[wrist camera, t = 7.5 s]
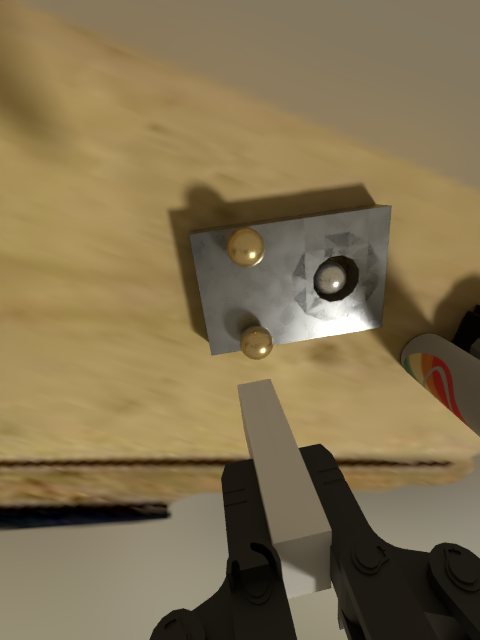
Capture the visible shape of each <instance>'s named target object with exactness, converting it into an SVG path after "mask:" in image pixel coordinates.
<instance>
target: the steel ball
mask: <svg viewBox="0 0 480 640" xmlns="http://www.w3.org/2000/svg"><path fill="white" fill-rule="evenodd" d="M345 282H346V272H345V270H344V268H343V267H342V266H341V265H340V264H339V263H337V262H334V261H326V262H323V263H322V264H320V265H319V267H318V269H317V271H316V273H315V275H314V276H313V284H314V286H315V288H316V289H317V290H318V291H320V292H322V293H325V294H333V293H336V292H338V291H339V290H340V289H341V288H342V287H343V286H344V284H345Z"/></svg>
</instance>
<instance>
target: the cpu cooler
mask: <svg viewBox="0 0 480 640" xmlns="http://www.w3.org/2000/svg"><path fill="white" fill-rule="evenodd" d="M465 319H466V320H465ZM462 321H463V322H462V323H461V324H460V326H459V328H460V327H461V329H459V330H458V331H457V332H459V333H456V335H455V336H456V337H455V339H454V340H453V341H454V342H452V343H453V344H454V345H456V346H457V347H459V348H461V349H462V350H464V351H465V352H467V353H469V354H470V355H472V356H474V357H475V358H477V359H478V360H480V305H476V308H475V310H474V312H469V313H468V314H467V315H466V316H465V317H464V319H463V320H462Z"/></svg>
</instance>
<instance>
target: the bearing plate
mask: <svg viewBox="0 0 480 640" xmlns="http://www.w3.org/2000/svg"><path fill="white" fill-rule="evenodd" d="M391 208H392V206H388V205H378V204H376V205H369V206H362V207H355V208H348V209H341V210H334V211H326V212H319V213H312V214H305V215H298V216H291V217H284V218H277V219H270V220H263V221H256V222H249V223H242V224H235V225H228V226H221V227H214V228H207V229H200V230H193V231H190V233H189V237H190V243H191V248H192V253H193V259H194V264H195V270H196V275H197V280H198V286H199V291H200V296H201V302H202V307H203V312H204V318H205V323H206V328H207V334H208V339H209V345H210V350H211V355H218V354H224V353H230V352H236V351H242V350H241V348H240V338H241V335H242V333H243V332H244V331H245V330H246V329H248V328H250V327H253V326H260V327H263V328H265V329H267V330H268V331H269V332H270V334H271V335H272V338H273V345H278V344H284V343H290V342H295V341H301V340H307V339H313V338H319V337H325V336H331V335H337V334H343V333H349V332H355V331H361V330H367V329H373V328H379V327H382V316H383V304H384V292H385V280H386V268H387V256H388V244H389V232H390V220H391ZM242 228H250V229H253V230H255V231H257V232H258V233H259V234H260V235H261V236H262V238H263V240H264V243H265V253H264V256H263V258H262V259H261V261H260V262H259V263H258V264H256V265H255V266H252V267H249V268H243V267H239V266H237V265H235V264H234V263H233V262H232V261H231V260H230V258H229V257H228V254H227V242H228V239H229V237H230V236H231V235H232V234H233V233H234V232H235V231H237V230H239V229H242ZM340 255H343V257H344V259H345V260H346V262H347V276H346V282H345V284H344V286H343V287H342V288H341V289H340V290H339V291H338V292H336V293H333V294H325V293H324V294H319V293H317V292H315V290H314V286H313V276H314V275H315V273H316V271H317V269H318V267H319V265H320V264H322V263H323V262H324V261H326V260H327V259H328V258H330V257H334V256H340Z"/></svg>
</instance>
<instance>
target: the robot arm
mask: <svg viewBox="0 0 480 640" xmlns="http://www.w3.org/2000/svg"><path fill="white" fill-rule="evenodd" d="M237 386H238V393H239V399H240V406H241V412H242V419H243V425H244V432H245V436H246V441H247V446H248V450H249V455H250V459H249V460H244V461H239V462H234V463H230V464H226V465H225V468H224V471H223V474H222V477H221V481H222V491H223V501H224V510H225V521H226V531H227V542H228V551H229V558H228V560H227V568H226V569H227V570H226V578H225V580H224V582H223V584H222V586H221V587H220V588H219V590H218V591H217V592H216V593H215V594H214V595H213V596H212V597H211V598H209V599H208V600H206V601H205V602H204V603H202V604H201V605H200V606H198V607H197V608H195V609H194V610H192V611H189V610H187V609H184V608H183V609H178V610H173V611H172V612H170V613H169V614H167V615H166V616H164V617H163V618H162V619H161V621H160V622H159V623H158V625H157V626H156V627H155V628H154V630H153V633H152V635H151V637H150V640H297V637H296V633H295V628H294V624H293V620H292V616H291V611H290V607H289V603H288V599H290V598H294V597H297V596H301V595H305V594H309V593H313V592H317V591H321V590H325V589H329V588H331V581H332V583H333V586H334V589H335V592H336V594H337V597H338V622H339V628H340V630H341V629H345V631H346V634H347V637H348V640H480V558H478V557H477V556H476V555H475V554H473V553H472V552H471V551H470V550H468V549H466V548H463V547H461V546H459V545H457V544H452V543H441V544H438V545H436V546H435V547H434V548H433V549H432V550H431V552H430V553H428V552H422V551H415V550H408V549H402V548H398V547H395V546H393V545H391V544H389V543H387V542H385V541H384V540H383V539H381V538H380V537H378V535H377V534H376V533H375V532H374V531H373V530H372V528H371V527H370V525H369V524H368V522H367V520H366V518H365V516H364V514H363V513H362V511H361V509H360V507H359V505H358V503H357V501H356V500H355V497H354V495H353V493H352V491H351V490H350V488H349V486H348V484H347V482H346V481H345V478H344V476H343V474H342V472H341V470H339V467H338V465H337V463H336V461H335V459H334V457H333V455H332V454H331V453H330V452H329V451H328V450H327V449H326V448H325V447H324V446H323V445H321V444H316V445H311V446H307V447H302V448H298V446H297V444H296V441H295V439H294V436H293V434H292V431H291V429H290V426H289V424H288V421H287V419H286V416H285V414H284V412H283V409H282V407H281V404H280V402H279V399H278V397H277V394H276V392H275V389H274V387H273V385H272V382H271V380H270V379H267V380H262V381H256V382H251V383H246V384H240V385H237Z"/></svg>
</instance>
